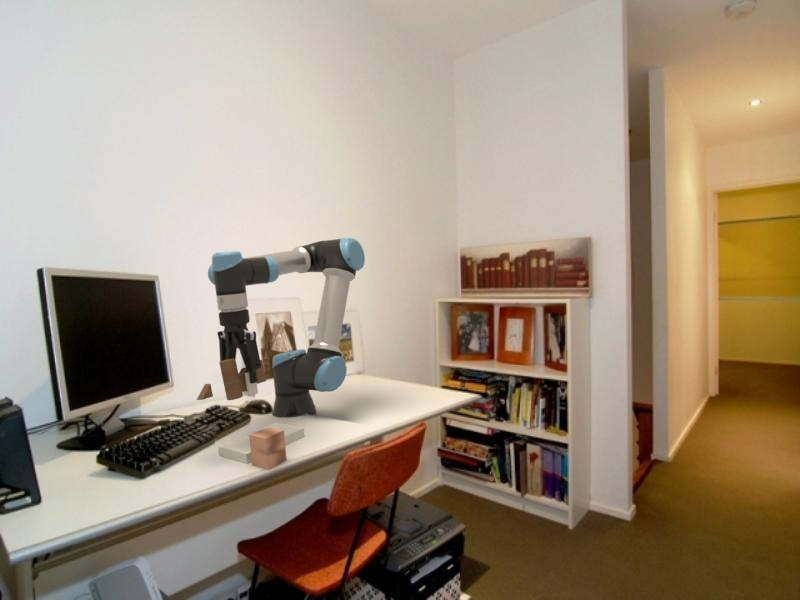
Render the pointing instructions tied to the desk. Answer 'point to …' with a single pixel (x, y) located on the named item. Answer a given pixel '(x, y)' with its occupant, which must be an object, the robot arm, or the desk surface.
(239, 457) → the base plate
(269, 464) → the terracotta brick
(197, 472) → the desk surface
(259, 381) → the wooden block set
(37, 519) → the desk surface
